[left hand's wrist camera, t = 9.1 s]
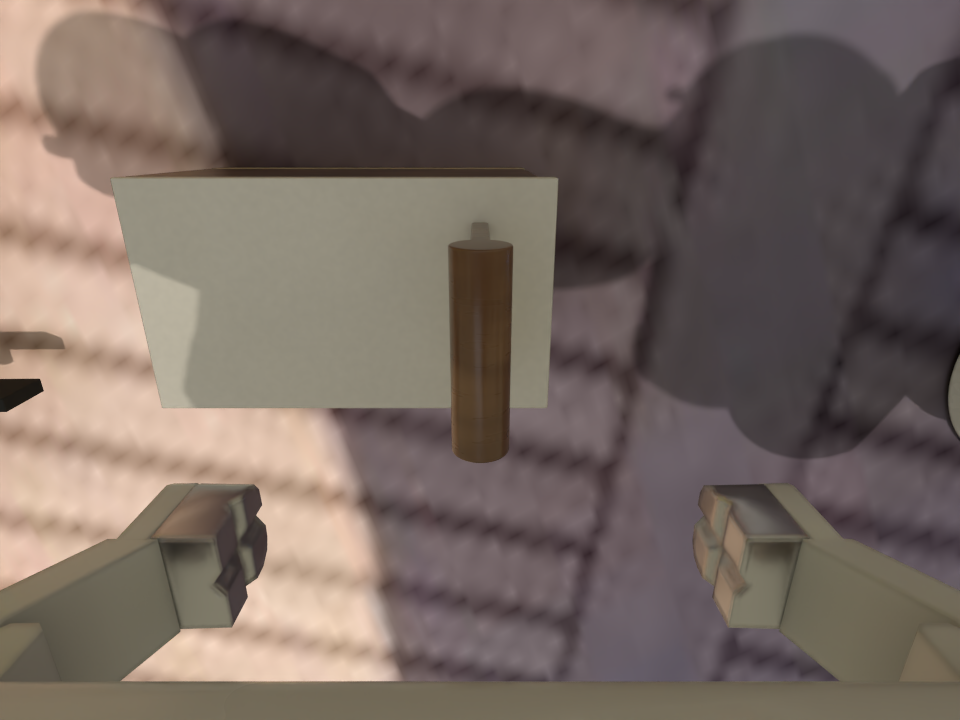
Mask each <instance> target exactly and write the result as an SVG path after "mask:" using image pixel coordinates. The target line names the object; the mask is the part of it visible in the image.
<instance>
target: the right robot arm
mask: <svg viewBox="0 0 960 720" xmlns="http://www.w3.org/2000/svg"><path fill="white" fill-rule="evenodd" d="M43 391H44V390H43V387H42V384H41V381H40V379H0V412H7V411H9V410H11V409H12V408H14V407H16V406H18V405H20V404H21V403H23V402H25V401H27V400H28V399H30V398H32V397H34V396H36V395H37V394H39V393H41V392H43Z"/></svg>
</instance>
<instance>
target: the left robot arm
mask: <svg viewBox="0 0 960 720" xmlns="http://www.w3.org/2000/svg"><path fill="white" fill-rule="evenodd" d="M948 408H949V414H950V418H951V422H952V424H953V427H954V429H955V431H956V433H957V434H958V436H959V437H960V355H959V357H958V359H957V361H956V364H955V366H954V369H953V372H952V376H951V379H950V384H949V392H948ZM261 506H262V502H261V497H260V492H259V489H258V488H257V487H256V486H255V485H252V484H203V483H201V484H198V483H174V484H170V485H167V486H166V487H165V488H164V489H163V490H162V491H161V492H160V493H159V494H158V495H157V496H156V497H155V498H154V500H153V501H152V502H151V503H150V504H149V505H148V506H147V507H146V508H145V509H144V510H143V511H142V512H141V513H140V515H139V516H138V517H137V518H136V519H135V520H134V521H133V522H132V523H131V524H130V525H129V526H128V527H127V528H126V530H125V531H124V532H123V533H122V534H121V535H120V536H119V537H118V538H117V539H107V540H105V541H103V542H100V543H98V544H96V545H94V546H92V547H90V548H88V549H86V550H84V551H82V552H80V553H78V554H75V555H73V556H71V557H69V558H67V559H65V560H63V561H61V562H59V563H57V564H55V565H53V566H50V567H48V568H46V569H44V570H42V571H40V572H38V573H36V574H34V575H32V576H30V577H28V578H25V579H23V580H21V581H19V582H17V583H15V584H13V585H11V586H9V587H7V588H5V589H3V590H0V720H960V591H959V590H957V589H955V588H953V587H951V586H949V585H947V584H945V583H943V582H941V581H938V580H936V579H934V578H932V577H930V576H928V575H926V574H924V573H922V572H920V571H918V570H916V569H914V568H911V567H909V566H907V565H905V564H903V563H901V562H899V561H897V560H895V559H893V558H891V557H889V556H887V555H884V554H882V553H880V552H878V551H876V550H874V549H872V548H870V547H868V546H866V545H864V544H862V543H860V542H857V541H855V540H853V539H843V538H842V537H841V536H840V535H839V534H838V533H837V532H836V531H835V529H834V528H833V527H832V526H831V525H830V524H829V523H828V522H827V521H826V520H825V519H824V518H823V517H822V516H821V514H820V513H819V512H818V511H817V510H816V509H815V508H814V507H813V506H812V505H811V504H810V503H809V502H808V501H807V499H806V498H805V497H804V496H803V495H802V494H801V493H800V492H799V491H798V490H797V489H796V488H795V487H794V486H793V485H790V484H788V483H770V484H748V485H704V486H703V488H702V490H701V492H700V496H699V501H698V506H699V507H700V509H701V511H702V512H703V514H704V516H703V517H702V518H701V519H700V520H699V521H698V522H697V523H696V524H695V525H694V533H693V552H694V558H695V561H696V565H697V568H698V570H699V572H700V574H701V576H702V578H703V579H705V580H706V581H708V582H709V583H710V584H712V585H713V586H714V591H713V596H712V597H713V599H714V601H715V603H716V605H717V607H718V609H719V611H720V613H721V615H722V616H723V618H724V620H725V622H726V624H727V626H728V627H731V628H767V629H780V632H781V633H782V634H783V635H785V636H786V637H787V638H788V639H789V640H791V641H792V642H793V643H794V644H796V645H797V646H798V647H799V648H800V649H802V650H803V651H804V652H805V653H806V654H808V655H809V656H810V657H811V658H813V659H814V660H815V661H816V662H817V663H819V664H820V665H821V666H822V667H823V668H825V669H826V670H827V671H828V672H830V673H831V674H832V675H833V676H834V677H836V678H837V679H838V680H839V681H841V682H437V681H283V682H130V681H121V680H122V679H123V678H125V677H126V676H127V675H128V674H129V673H131V672H132V671H133V670H134V669H135V668H137V667H138V666H139V665H140V664H142V663H143V662H144V661H145V660H146V659H148V658H149V657H150V656H151V655H153V654H154V653H155V652H156V651H157V650H159V649H160V648H161V647H162V646H164V645H165V644H166V643H167V642H168V641H170V640H171V639H172V638H173V637H174V636H176V635H177V634H178V633H179V632H180V629H193V628H227V627H232V626H233V624H234V622H235V620H236V618H237V617H238V615H239V613H240V611H241V609H242V607H243V605H244V603H245V601H246V599H247V597H248V596H247V591H246V586H247V585H248V584H250V583H251V582H252V581H254V580H255V579H257V578H258V576H259V574H260V572H261V570H262V568H263V565H264V561H265V557H266V552H267V532H266V525H265V524H264V523H263V522H262V521H261V520H260V519H259V518H258V517H257V516H256V514H257V512H258V511H259V509H260V507H261Z"/></svg>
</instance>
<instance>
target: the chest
mask: <svg viewBox="0 0 960 720" xmlns="http://www.w3.org/2000/svg"><path fill="white" fill-rule="evenodd" d="M126 177H538V176H536V175H534V174H532V173H530V172H528V171H526V170H525V169H524V168H212V169H204V170H193V171H182V172H170V173H159V174H148V175H137V176H126Z"/></svg>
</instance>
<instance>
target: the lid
mask: <svg viewBox="0 0 960 720" xmlns="http://www.w3.org/2000/svg"><path fill="white" fill-rule="evenodd" d="M110 180H111V184H112V189H113V193H114V197H115V202H116V206H117V211H118V215H119V220H120V224H121V228H122V233H123V237H124V242H125V246H126V250H127V255H128V259H129V264H130V268H131V273H132V277H133V281H134V286H135V290H136V295H137V299H138V303H139V308H140V312H141V317H142V321H143V326H144V330H145V334H146V339H147V343H148V348H149V352H150V356H151V361H152V365H153V370H154V374H155V378H156V383H157V387H158V392H159V396H160V401H161V405H162V408H451V429H452V451H453V452H454V454H455V455H456V456H457V457H459V458H460V459H462V460H465V461H469V462H474V463H487V462H492V461H496V460H499V459H501V458H502V457H504V456H505V455H506V454H507V452H508V450H509V424H510V408H547V403H548V382H549V362H550V341H551V321H552V300H553V280H554V259H555V239H556V218H557V198H558V178H556V177H114V178H111V179H110Z"/></svg>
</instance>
